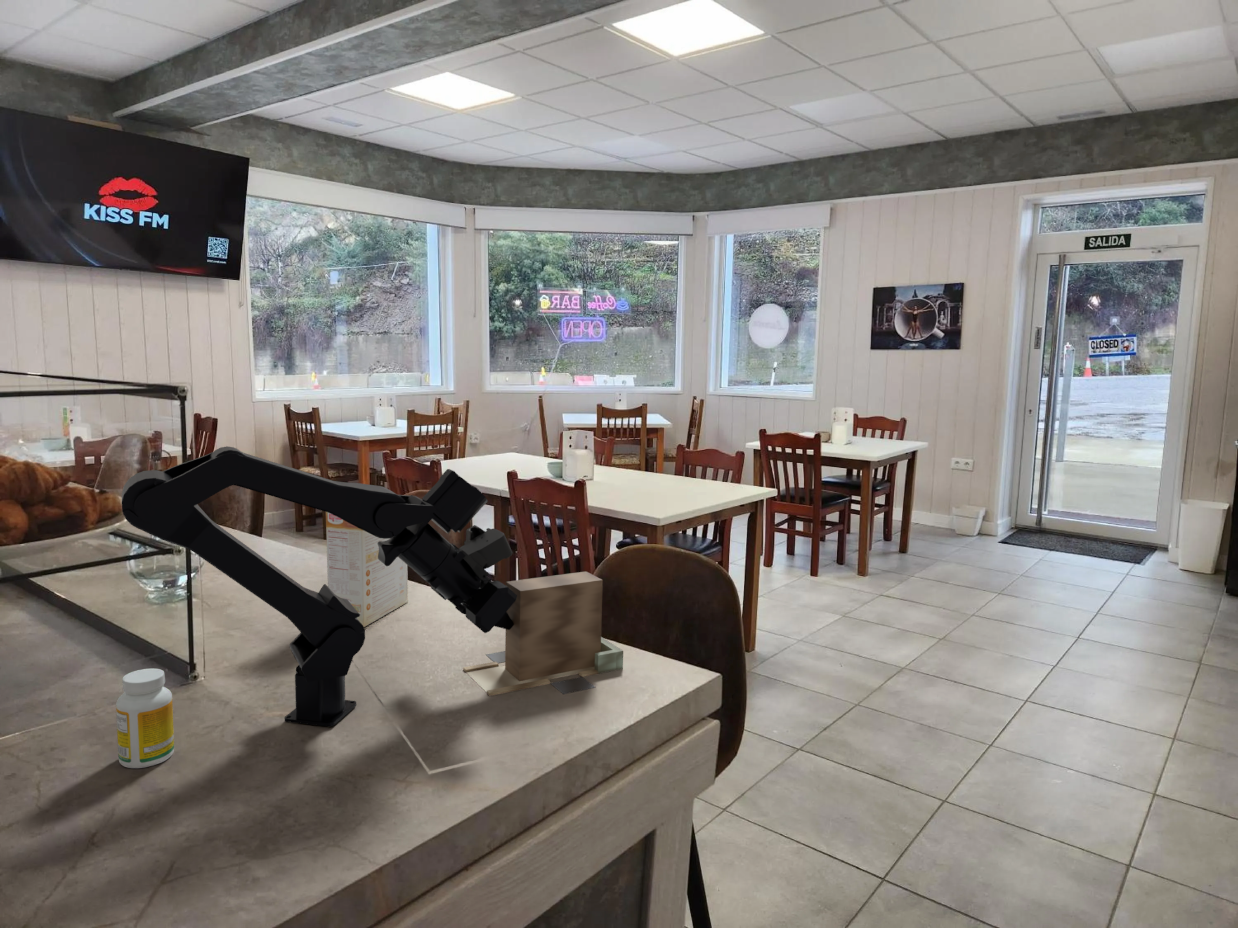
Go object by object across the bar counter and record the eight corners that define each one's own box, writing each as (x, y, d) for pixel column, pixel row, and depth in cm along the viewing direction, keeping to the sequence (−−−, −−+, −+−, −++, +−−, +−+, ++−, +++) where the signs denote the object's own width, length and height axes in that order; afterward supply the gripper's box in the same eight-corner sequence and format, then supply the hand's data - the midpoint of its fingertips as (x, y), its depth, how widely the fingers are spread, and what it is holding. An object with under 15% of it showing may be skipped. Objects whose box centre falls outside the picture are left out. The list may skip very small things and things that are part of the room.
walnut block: (519, 681, 113) (520, 591, 111) (505, 668, 117) (506, 581, 115) (600, 665, 120) (602, 579, 118) (584, 653, 124) (586, 571, 122)
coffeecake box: (374, 598, 149) (373, 493, 146) (409, 602, 147) (409, 496, 144) (325, 623, 134) (323, 508, 132) (363, 628, 133) (362, 512, 130)
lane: (501, 709, 105) (501, 687, 104) (453, 661, 120) (453, 642, 120) (637, 680, 115) (638, 659, 115) (577, 639, 131) (578, 621, 130)
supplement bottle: (109, 770, 87) (104, 685, 86) (133, 746, 92) (129, 665, 91) (161, 769, 88) (157, 684, 86) (183, 745, 93) (179, 665, 92)
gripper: (502, 526, 101) (578, 600, 108) (451, 500, 117) (521, 566, 124) (441, 595, 98) (524, 666, 105) (397, 559, 114) (472, 623, 121)
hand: (510, 626), depth 114 cm, fingers closed, pressing on walnut block
